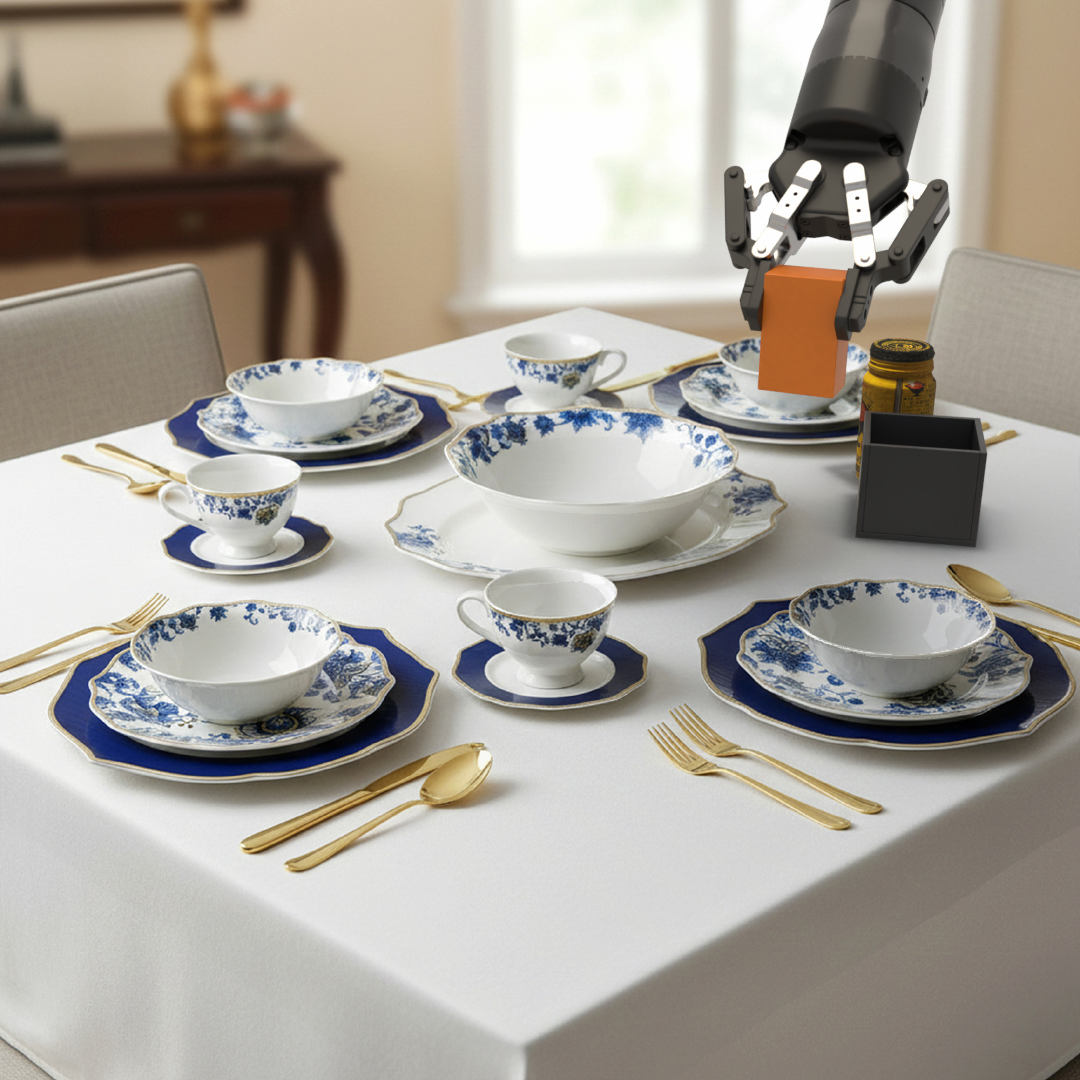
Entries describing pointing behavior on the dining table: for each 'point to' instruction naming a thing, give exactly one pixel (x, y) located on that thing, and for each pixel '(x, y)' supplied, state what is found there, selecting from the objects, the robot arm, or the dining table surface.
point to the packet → (802, 332)
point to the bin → (921, 478)
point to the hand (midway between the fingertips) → (798, 327)
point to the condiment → (897, 381)
